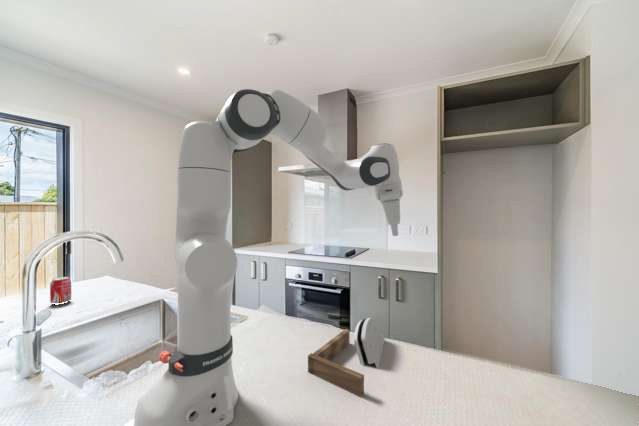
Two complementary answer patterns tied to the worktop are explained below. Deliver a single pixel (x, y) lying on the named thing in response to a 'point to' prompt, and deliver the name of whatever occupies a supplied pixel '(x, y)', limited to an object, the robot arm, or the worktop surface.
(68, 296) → the soda can
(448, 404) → the worktop surface
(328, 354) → the wooden corner bracket
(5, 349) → the worktop surface
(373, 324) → the white black-banded slab
